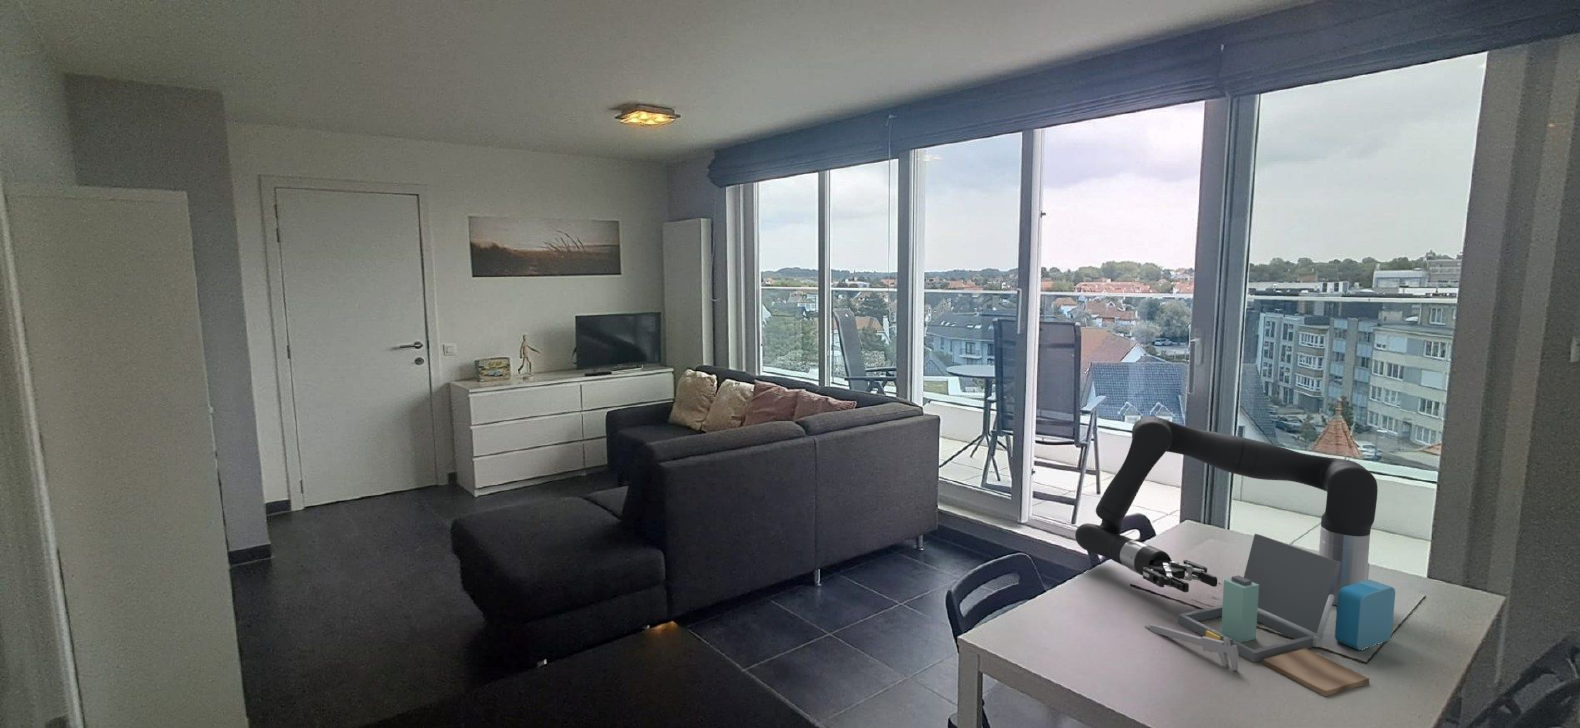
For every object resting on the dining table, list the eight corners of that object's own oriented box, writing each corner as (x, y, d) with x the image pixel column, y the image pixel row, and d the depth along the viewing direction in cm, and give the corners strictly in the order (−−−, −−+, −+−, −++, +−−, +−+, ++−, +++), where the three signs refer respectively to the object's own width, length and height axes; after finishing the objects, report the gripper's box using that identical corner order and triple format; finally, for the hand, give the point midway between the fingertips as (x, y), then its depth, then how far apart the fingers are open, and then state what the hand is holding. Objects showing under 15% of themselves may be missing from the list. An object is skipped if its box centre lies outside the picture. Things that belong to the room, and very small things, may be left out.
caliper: (1238, 672, 140) (1240, 641, 140) (1234, 673, 140) (1236, 642, 139) (1147, 627, 159) (1148, 600, 158) (1144, 628, 158) (1145, 601, 158)
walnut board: (1304, 653, 147) (1305, 648, 146) (1368, 683, 135) (1369, 678, 135) (1262, 664, 143) (1262, 659, 142) (1324, 696, 131) (1325, 691, 131)
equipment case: (1254, 605, 168) (1259, 532, 166) (1340, 643, 150) (1346, 562, 148) (1176, 623, 160) (1179, 547, 158) (1256, 665, 142) (1262, 580, 140)
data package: (1367, 631, 155) (1371, 577, 154) (1391, 640, 151) (1396, 585, 150) (1333, 642, 151) (1337, 588, 149) (1357, 652, 147) (1362, 596, 145)
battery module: (1236, 629, 157) (1239, 573, 155) (1255, 638, 153) (1259, 581, 151) (1221, 633, 155) (1224, 576, 154) (1240, 642, 151) (1243, 584, 150)
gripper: (1122, 549, 174) (1178, 574, 159) (1167, 541, 179) (1226, 565, 164) (1121, 578, 175) (1177, 606, 160) (1166, 570, 180) (1224, 596, 165)
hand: (1202, 585), depth 162 cm, fingers open, 8 cm apart
